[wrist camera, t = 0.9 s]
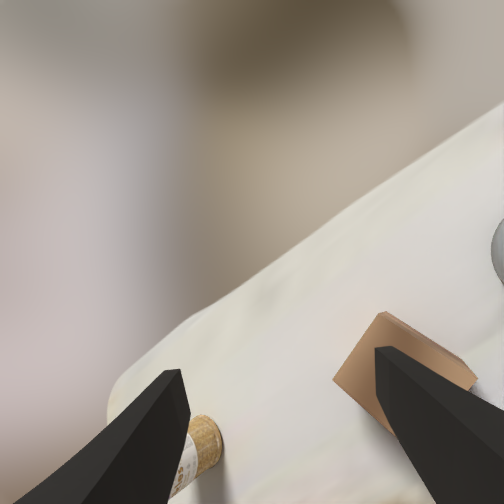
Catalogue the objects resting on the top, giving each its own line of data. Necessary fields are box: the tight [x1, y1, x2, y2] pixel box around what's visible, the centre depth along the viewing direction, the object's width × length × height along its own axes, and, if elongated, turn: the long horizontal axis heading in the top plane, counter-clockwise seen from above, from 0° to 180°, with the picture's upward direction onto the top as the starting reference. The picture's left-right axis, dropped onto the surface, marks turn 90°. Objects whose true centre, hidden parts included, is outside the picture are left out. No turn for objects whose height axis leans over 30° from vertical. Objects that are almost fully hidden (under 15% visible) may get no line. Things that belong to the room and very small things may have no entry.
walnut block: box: [332, 311, 478, 438], centre depth 16 cm, size 5×5×5 cm
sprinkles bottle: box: [168, 415, 222, 500], centre depth 20 cm, size 5×5×13 cm
